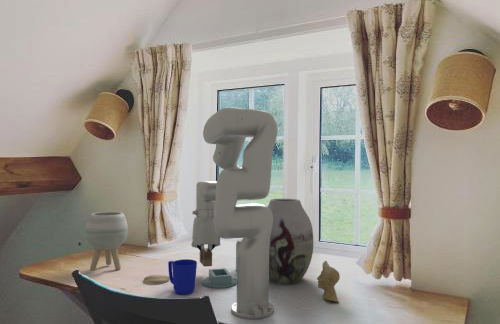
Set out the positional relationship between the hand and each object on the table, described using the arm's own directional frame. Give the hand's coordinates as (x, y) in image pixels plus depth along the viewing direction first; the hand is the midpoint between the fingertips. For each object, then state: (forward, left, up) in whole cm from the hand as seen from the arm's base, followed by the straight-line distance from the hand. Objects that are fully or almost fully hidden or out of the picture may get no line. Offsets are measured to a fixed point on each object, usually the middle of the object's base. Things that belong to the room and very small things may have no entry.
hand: (205, 261), depth 143 cm
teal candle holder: (-7, -4, -6) cm, 10 cm away
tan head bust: (-34, -34, -6) cm, 48 cm away
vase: (-10, -28, -6) cm, 30 cm away
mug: (-13, +11, -6) cm, 18 cm away
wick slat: (+6, 0, +1) cm, 6 cm away
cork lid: (+1, +18, -6) cm, 19 cm away
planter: (+22, +37, -6) cm, 43 cm away
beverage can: (+7, -17, -6) cm, 19 cm away
